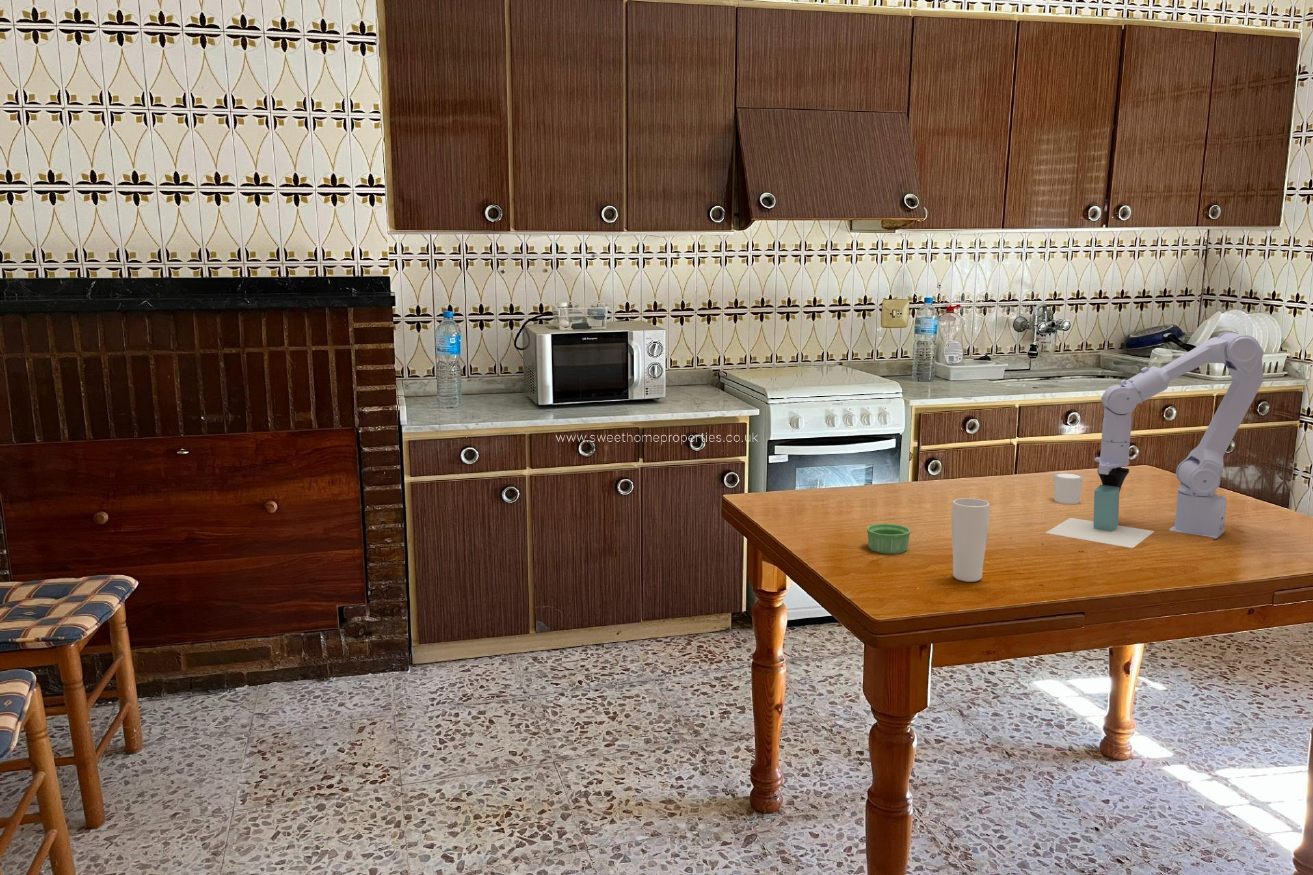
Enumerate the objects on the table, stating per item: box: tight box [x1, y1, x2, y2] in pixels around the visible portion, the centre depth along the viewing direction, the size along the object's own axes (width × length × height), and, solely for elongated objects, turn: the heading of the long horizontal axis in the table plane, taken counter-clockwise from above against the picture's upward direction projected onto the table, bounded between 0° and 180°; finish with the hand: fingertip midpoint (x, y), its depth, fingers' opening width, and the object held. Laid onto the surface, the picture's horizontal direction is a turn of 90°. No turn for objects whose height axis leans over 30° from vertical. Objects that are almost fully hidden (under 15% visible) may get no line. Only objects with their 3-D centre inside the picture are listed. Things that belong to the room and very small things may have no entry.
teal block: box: [1093, 484, 1120, 532], centre depth 223 cm, size 4×4×9 cm
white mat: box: [1045, 517, 1155, 549], centre depth 221 cm, size 18×16×1 cm
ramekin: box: [866, 523, 912, 555], centre depth 212 cm, size 9×9×4 cm
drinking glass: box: [951, 497, 990, 583], centre depth 192 cm, size 7×7×15 cm
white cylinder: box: [1053, 472, 1085, 505], centre depth 247 cm, size 7×7×7 cm
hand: (1111, 500), depth 225 cm, fingers closed
